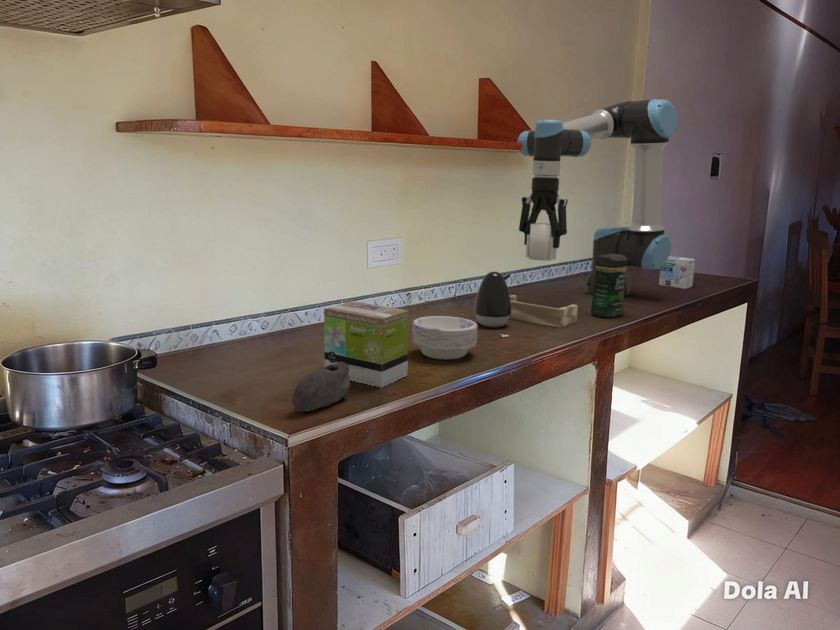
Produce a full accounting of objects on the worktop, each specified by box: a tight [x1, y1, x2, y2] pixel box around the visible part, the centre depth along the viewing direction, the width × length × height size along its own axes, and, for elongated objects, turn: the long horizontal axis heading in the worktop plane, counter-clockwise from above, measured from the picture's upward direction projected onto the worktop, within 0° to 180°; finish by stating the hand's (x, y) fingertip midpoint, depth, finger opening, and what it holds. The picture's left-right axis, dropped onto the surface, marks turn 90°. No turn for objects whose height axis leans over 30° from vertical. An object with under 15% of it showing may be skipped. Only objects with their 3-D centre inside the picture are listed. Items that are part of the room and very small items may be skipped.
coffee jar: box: [590, 254, 628, 318], centre depth 210 cm, size 10×8×19 cm
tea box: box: [323, 300, 410, 388], centre depth 145 cm, size 15×10×15 cm, turn 58°
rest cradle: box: [509, 294, 578, 329], centre depth 204 cm, size 10×22×5 cm, turn 50°
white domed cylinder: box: [528, 222, 553, 261], centre depth 201 cm, size 7×7×10 cm
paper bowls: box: [411, 315, 479, 361], centre depth 164 cm, size 15×15×8 cm
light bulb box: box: [658, 255, 696, 290], centre depth 264 cm, size 11×7×11 cm, turn 49°
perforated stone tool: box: [292, 362, 351, 412], centre depth 129 cm, size 15×5×7 cm, turn 146°
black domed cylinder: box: [473, 271, 511, 329], centre depth 194 cm, size 10×10×15 cm
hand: (540, 257), depth 202 cm, fingers closed on white domed cylinder, 7 cm apart
